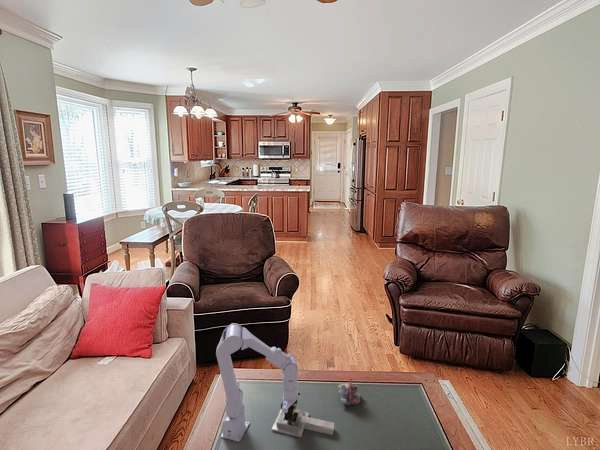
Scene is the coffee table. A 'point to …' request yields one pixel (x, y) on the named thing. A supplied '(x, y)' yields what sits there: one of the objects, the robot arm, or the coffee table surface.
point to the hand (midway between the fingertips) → (290, 414)
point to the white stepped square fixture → (301, 424)
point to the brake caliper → (349, 393)
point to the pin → (293, 413)
